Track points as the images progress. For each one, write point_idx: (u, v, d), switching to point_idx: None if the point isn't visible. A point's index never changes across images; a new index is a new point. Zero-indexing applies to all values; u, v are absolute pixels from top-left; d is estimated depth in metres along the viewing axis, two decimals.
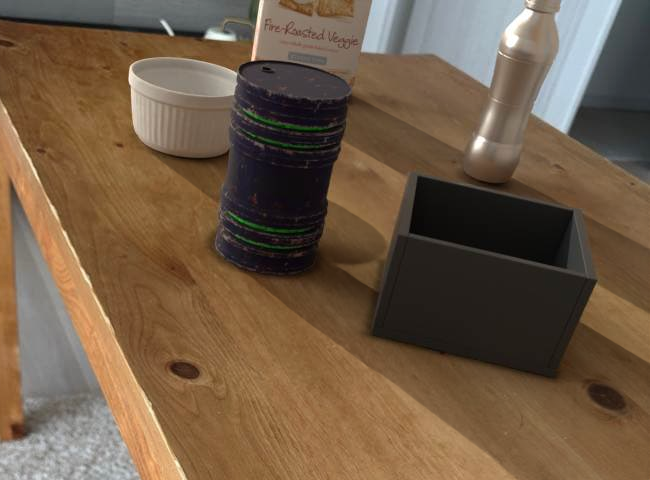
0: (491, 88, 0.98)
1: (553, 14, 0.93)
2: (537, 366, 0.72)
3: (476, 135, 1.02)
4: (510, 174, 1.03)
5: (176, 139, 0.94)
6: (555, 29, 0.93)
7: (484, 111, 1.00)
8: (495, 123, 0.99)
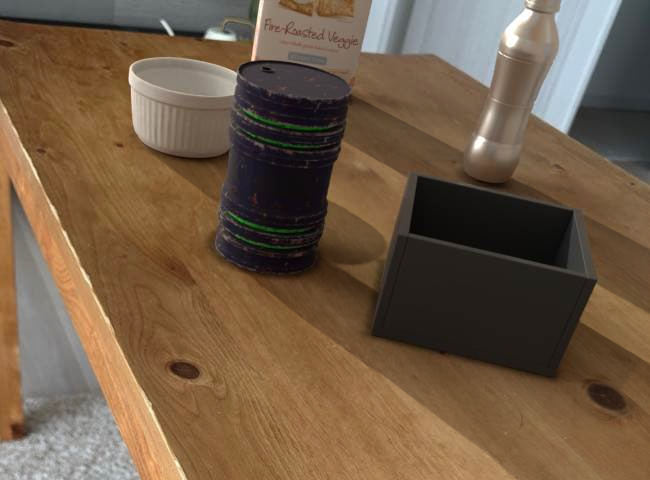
0: (491, 88, 0.98)
1: (553, 14, 0.93)
2: (537, 366, 0.72)
3: (476, 135, 1.02)
4: (510, 174, 1.03)
5: (176, 139, 0.94)
6: (555, 29, 0.93)
7: (484, 111, 1.00)
8: (495, 123, 0.99)
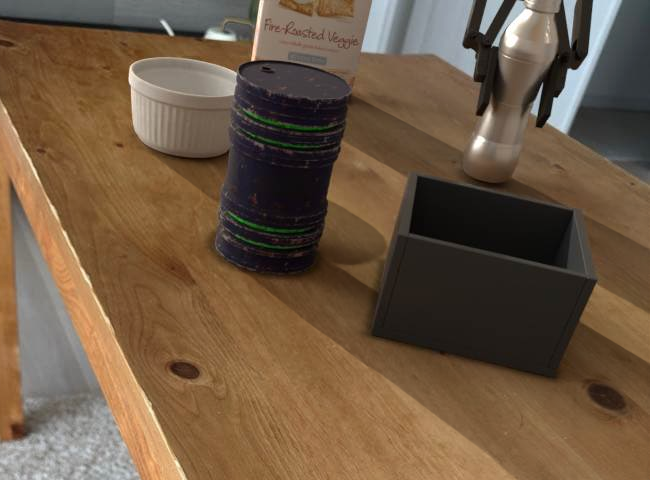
0: None
1: (553, 14, 0.93)
2: (537, 366, 0.72)
3: (476, 135, 1.02)
4: (510, 174, 1.03)
5: (176, 139, 0.94)
6: (555, 29, 0.93)
7: None
8: (495, 123, 0.99)
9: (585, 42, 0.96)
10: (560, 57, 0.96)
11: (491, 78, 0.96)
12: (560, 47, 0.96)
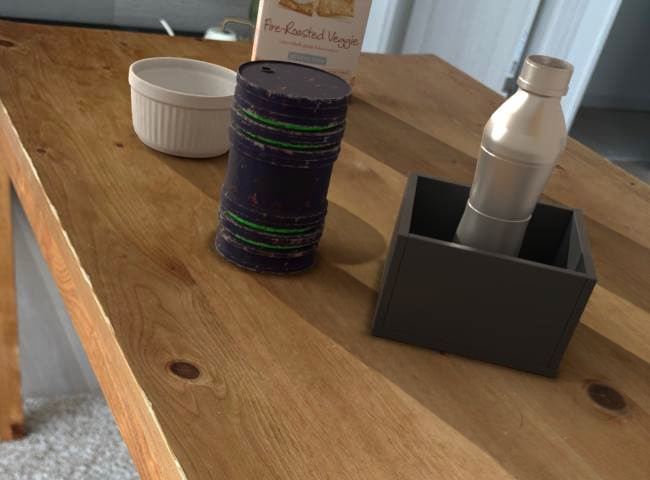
0: (472, 194, 0.71)
1: (558, 98, 0.65)
2: (537, 366, 0.72)
3: None
4: None
5: (176, 139, 0.94)
6: (561, 118, 0.66)
7: (462, 223, 0.72)
8: (478, 242, 0.71)
9: None
10: None
11: None
12: None
